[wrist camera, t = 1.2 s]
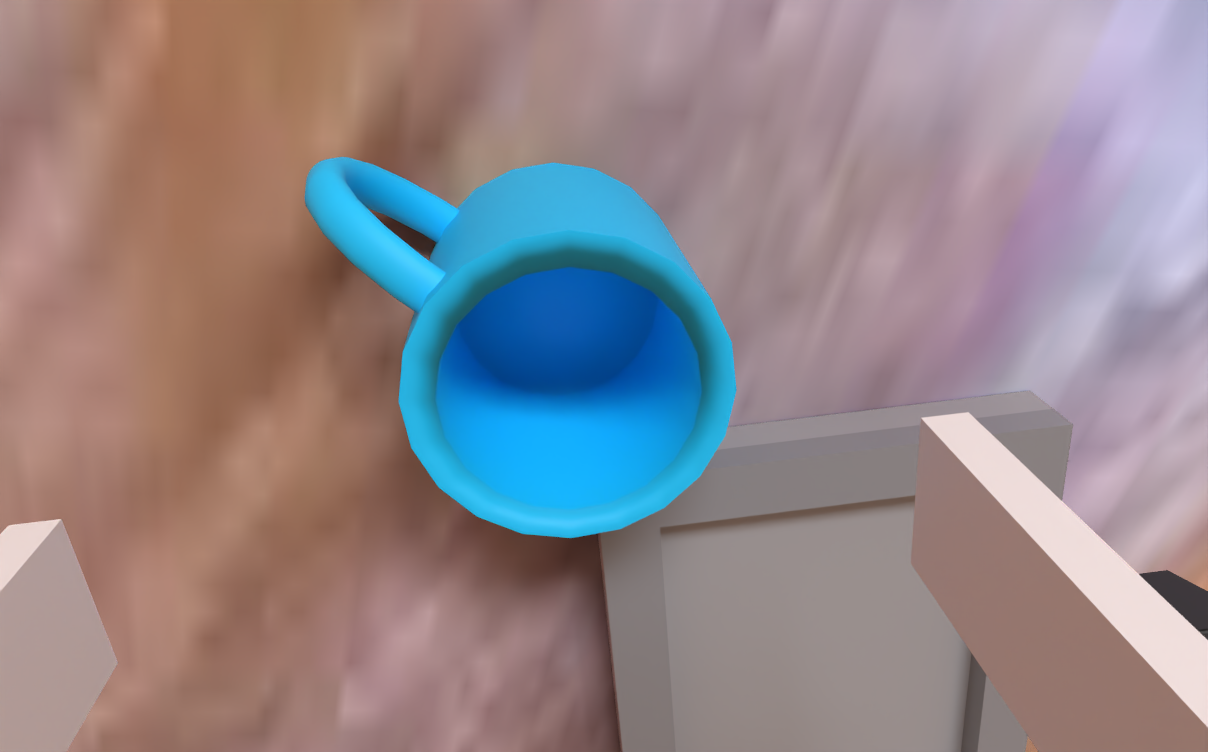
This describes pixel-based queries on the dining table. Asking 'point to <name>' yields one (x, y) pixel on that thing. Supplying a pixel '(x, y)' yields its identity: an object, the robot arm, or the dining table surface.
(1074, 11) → the dining table surface
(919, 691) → the tray
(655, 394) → the mug
